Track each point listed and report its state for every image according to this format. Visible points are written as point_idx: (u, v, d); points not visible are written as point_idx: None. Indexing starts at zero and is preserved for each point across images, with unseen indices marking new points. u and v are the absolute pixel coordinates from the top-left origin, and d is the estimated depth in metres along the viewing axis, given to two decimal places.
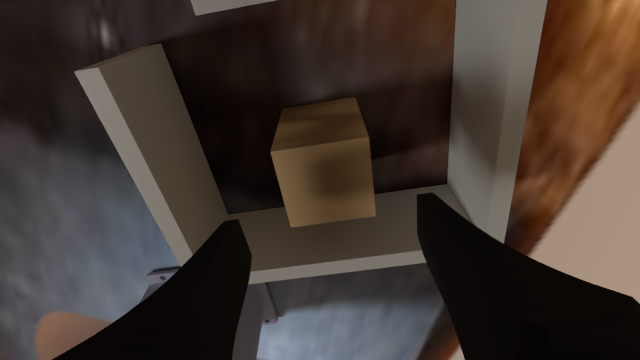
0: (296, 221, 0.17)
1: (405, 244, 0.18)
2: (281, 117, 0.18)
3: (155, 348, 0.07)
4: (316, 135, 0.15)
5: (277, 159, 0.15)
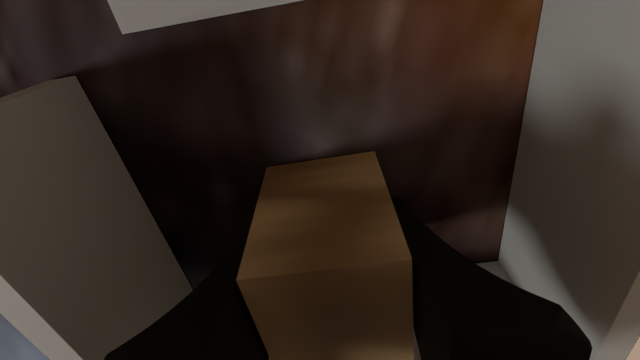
0: None
1: None
2: (263, 187, 0.12)
3: (211, 342, 0.07)
4: (317, 242, 0.09)
5: (249, 290, 0.08)
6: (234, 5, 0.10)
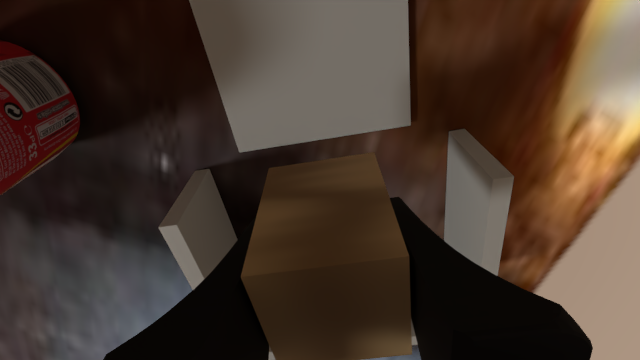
0: None
1: None
2: (266, 187, 0.12)
3: (211, 342, 0.07)
4: (318, 241, 0.09)
5: (253, 286, 0.09)
6: (296, 140, 0.20)
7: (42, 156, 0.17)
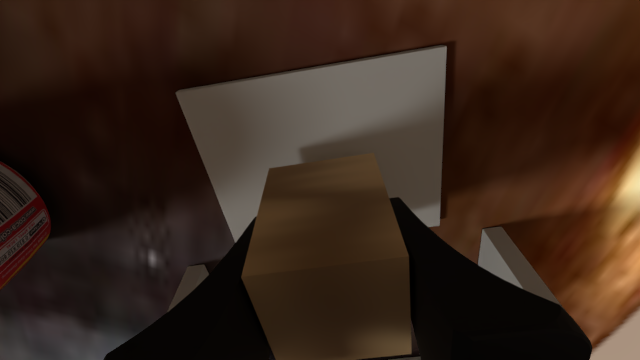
0: None
1: None
2: (266, 188, 0.12)
3: (211, 342, 0.07)
4: (318, 241, 0.09)
5: (253, 286, 0.09)
6: None
7: (0, 284, 0.14)
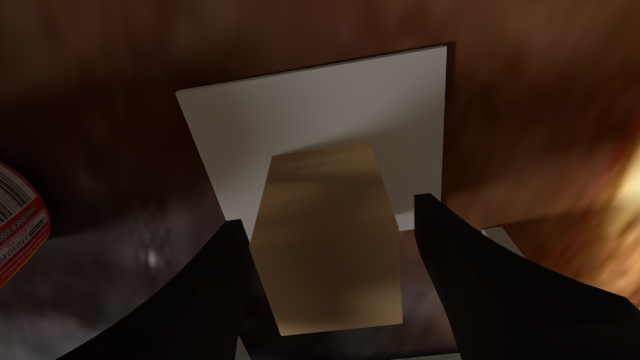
0: (288, 329, 0.12)
1: None
2: (269, 173, 0.13)
3: (159, 347, 0.07)
4: (318, 217, 0.10)
5: (259, 256, 0.10)
6: None
7: (0, 284, 0.14)
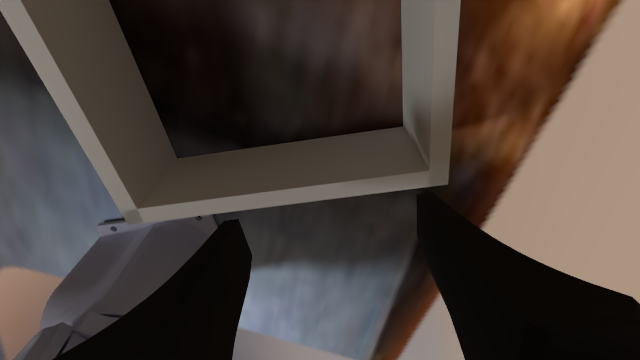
0: None
1: (347, 175, 0.17)
2: None
3: (155, 348, 0.07)
4: None
5: None
6: None
7: None
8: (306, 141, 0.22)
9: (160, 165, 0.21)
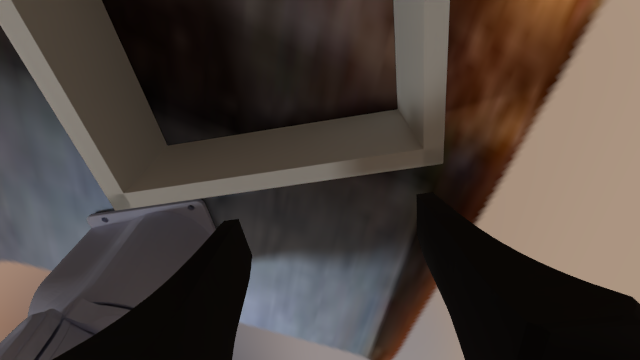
0: None
1: (339, 155, 0.17)
2: None
3: (155, 348, 0.07)
4: None
5: None
6: None
7: None
8: (298, 126, 0.22)
9: (149, 151, 0.20)
